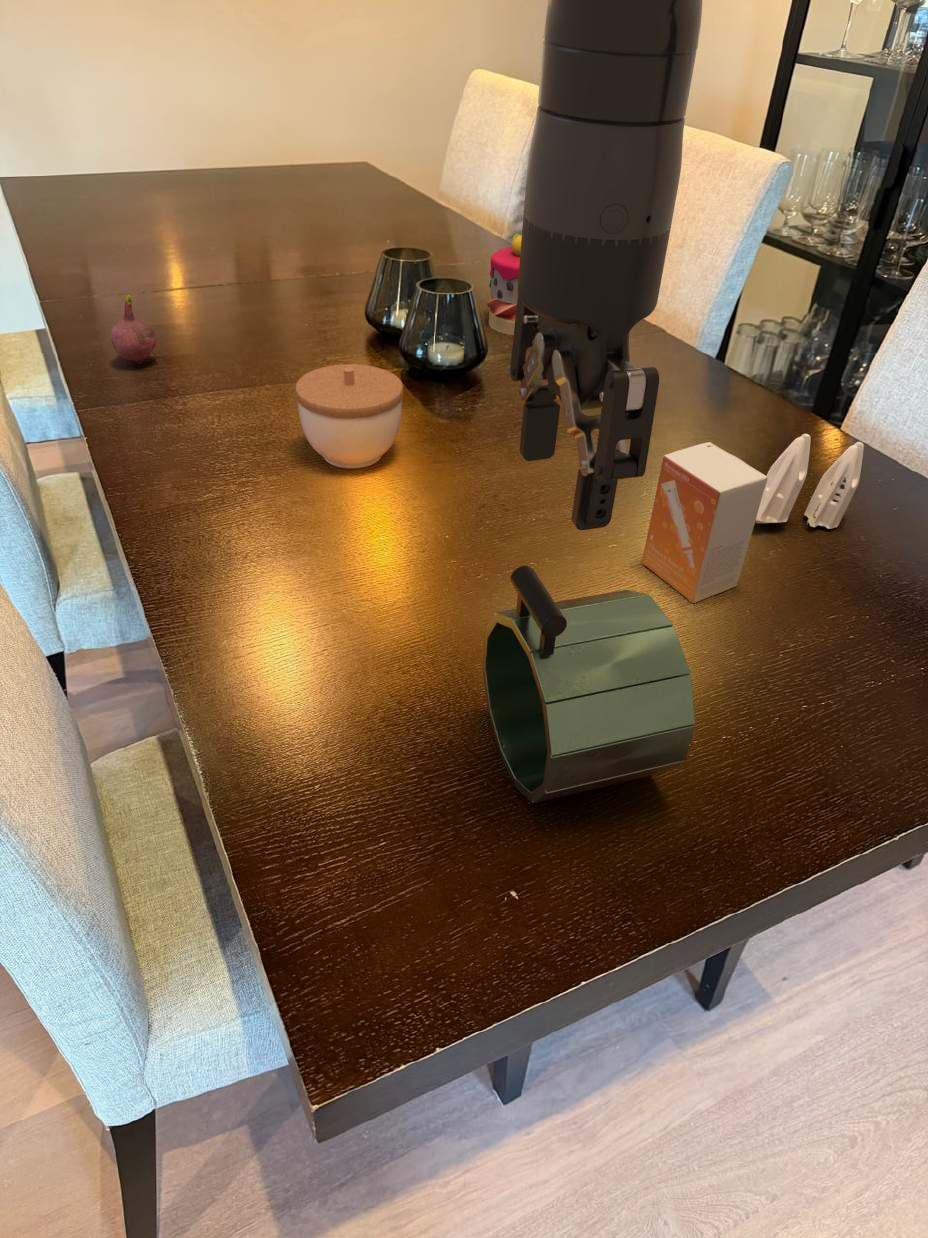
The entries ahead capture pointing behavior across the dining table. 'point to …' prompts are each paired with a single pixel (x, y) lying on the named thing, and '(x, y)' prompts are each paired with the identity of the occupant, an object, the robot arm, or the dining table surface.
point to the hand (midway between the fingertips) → (561, 489)
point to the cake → (504, 287)
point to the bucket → (585, 690)
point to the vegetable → (133, 336)
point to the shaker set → (828, 494)
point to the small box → (702, 520)
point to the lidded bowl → (350, 412)
